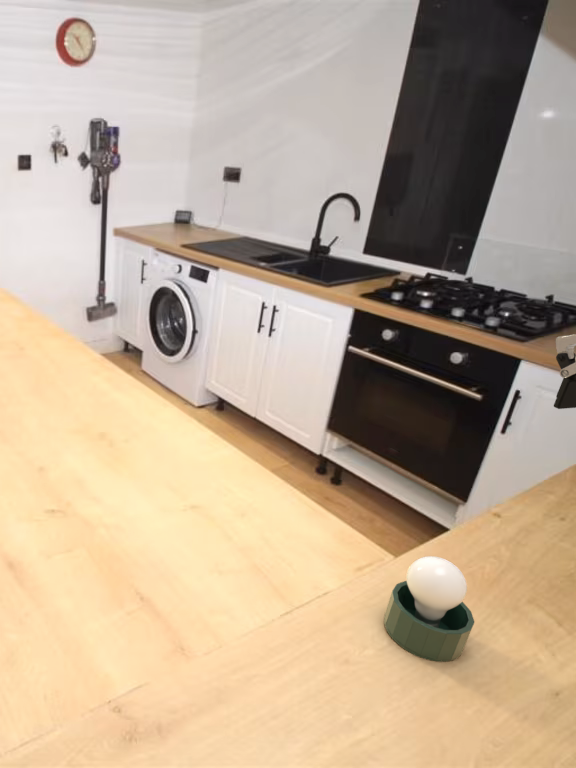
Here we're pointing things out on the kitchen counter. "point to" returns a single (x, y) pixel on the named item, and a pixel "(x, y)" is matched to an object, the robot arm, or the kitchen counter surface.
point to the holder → (426, 628)
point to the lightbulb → (435, 588)
